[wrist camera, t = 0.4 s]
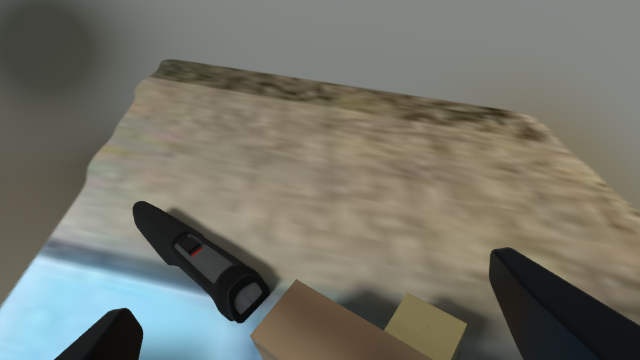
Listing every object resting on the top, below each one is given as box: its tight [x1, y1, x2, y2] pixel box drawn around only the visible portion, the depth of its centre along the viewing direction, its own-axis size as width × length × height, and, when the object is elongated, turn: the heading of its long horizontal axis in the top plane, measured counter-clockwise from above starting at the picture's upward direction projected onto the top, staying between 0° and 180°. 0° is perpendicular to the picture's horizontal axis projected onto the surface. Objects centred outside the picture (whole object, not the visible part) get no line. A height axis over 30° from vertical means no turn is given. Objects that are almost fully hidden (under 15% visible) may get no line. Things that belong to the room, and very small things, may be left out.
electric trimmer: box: [133, 201, 270, 323], centre depth 29 cm, size 4×16×3 cm, turn 50°
